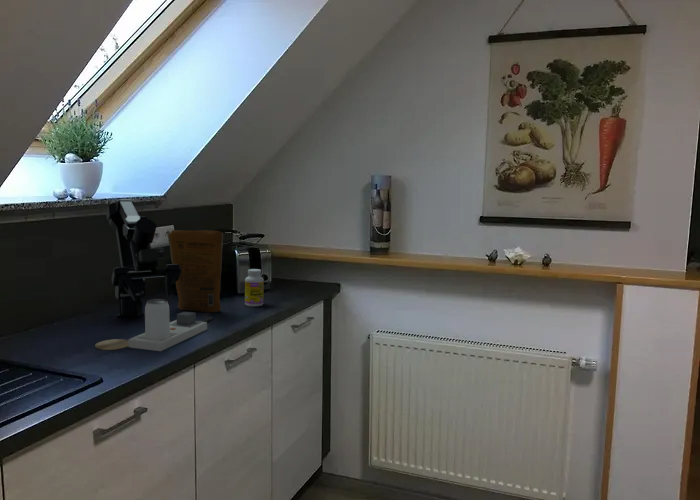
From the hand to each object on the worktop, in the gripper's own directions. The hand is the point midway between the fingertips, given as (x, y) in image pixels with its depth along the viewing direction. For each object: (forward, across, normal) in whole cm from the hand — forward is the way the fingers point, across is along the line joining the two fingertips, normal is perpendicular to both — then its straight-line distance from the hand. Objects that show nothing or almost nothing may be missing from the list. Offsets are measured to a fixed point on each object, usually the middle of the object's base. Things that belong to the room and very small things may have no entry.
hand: (152, 298), depth 171 cm
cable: (+1, +18, +16) cm, 24 cm away
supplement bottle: (-11, +42, +28) cm, 52 cm away
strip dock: (+9, +4, +7) cm, 13 cm away
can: (+12, 0, +5) cm, 13 cm away
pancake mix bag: (-12, +22, +28) cm, 38 cm away
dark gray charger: (+4, +11, +10) cm, 15 cm away
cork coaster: (+10, -11, +7) cm, 16 cm away
